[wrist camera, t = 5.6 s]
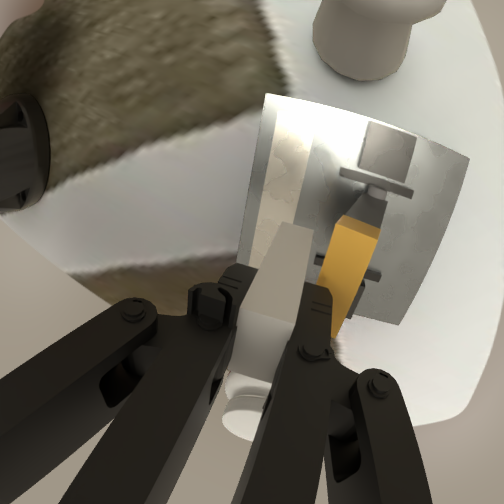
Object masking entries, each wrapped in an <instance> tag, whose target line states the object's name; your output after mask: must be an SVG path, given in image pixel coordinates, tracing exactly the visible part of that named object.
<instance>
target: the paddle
mask: <svg viewBox="0 0 504 504" xmlns="http://www.w3.org/2000/svg"><path fill="white" fill-rule="evenodd" d="M387 193H388V191H387V190H385V189H383V188H381V187H378V186H375V185H369V188H368V192H367V193H365V192H363V194H362V195H361V196H360V197H359V198H358V200H357V201H356V202H355V203H354V204H353V206H352V207H351V208H350V209H349V210H348V212H347V213H346V214H345V215H343V216H342V217H341V218H340V219H339V220H338V221H337V223H336V224H335V228H334V231H333V234H332V237H331V240H330V244H329V247H328V250H327V253H326V256H325V259H324V262H323V265H322V268H321V271H320V274H319V277H318V280H317V283H316V285H319V286H323V287H326V288H328V289H329V291H330V293H331V295H332V296H333V307H332V326H331V337H333V338H336V336H337V334H338V332H339V330H340V327H341V325H342V323H343V321H344V319H345V317H346V315H347V313H348V311H349V308H350V306H351V304H352V302H353V300H354V297H355V295H356V293H357V291H358V288H359V286H360V284H361V281H362V279H363V277H364V274H365V272H366V269H367V267H368V264H369V262H370V259H371V257H372V254H373V252H374V249H375V247H376V244H377V241H378V238H379V235H380V232H381V229H380V228H381V224H382V221H383V218H384V214H385V211H386V207H387V204H388V201H386V200H385V199H386V196H387Z"/></svg>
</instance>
